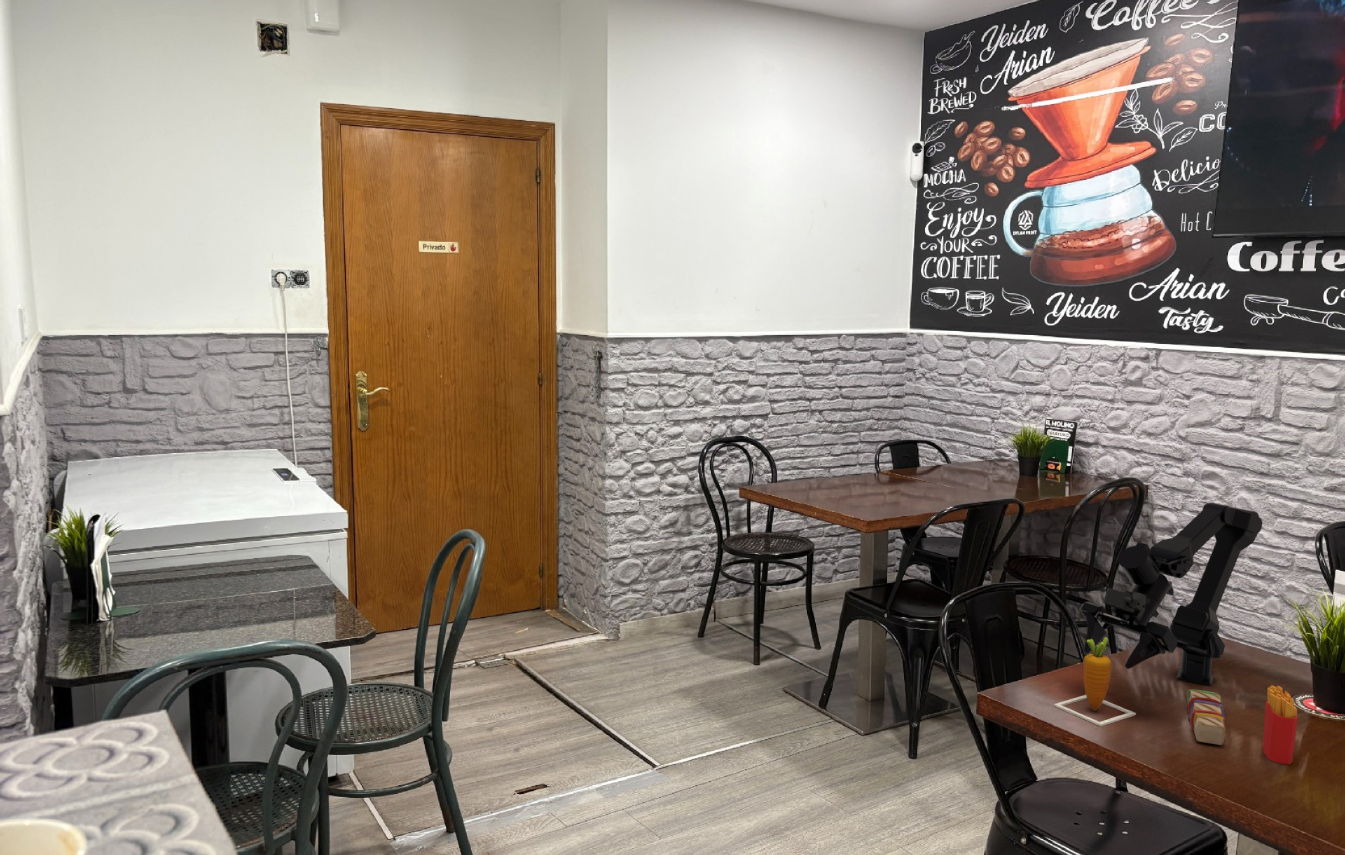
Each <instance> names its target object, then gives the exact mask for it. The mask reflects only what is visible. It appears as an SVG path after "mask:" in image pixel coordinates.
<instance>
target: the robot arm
mask: <svg viewBox="0 0 1345 855" xmlns="http://www.w3.org/2000/svg"><path fill="white" fill-rule="evenodd" d="M1262 528H1263V519H1262V517H1260V515H1259V514H1258V512H1257V511H1255V510H1250V509H1249V510H1248V509H1245V508H1239V507H1235V506H1230V505H1227V504H1220V503H1216V502H1208V503H1207V502H1206V503H1205V504H1204V506H1203V507H1202V510H1201V511H1200V512H1199V513H1198V514H1197V515H1196V516H1195V517H1194V518H1193V519H1192V520H1191V521H1190V522H1188V523H1187V525H1186V526H1184V527H1183V528H1182V529H1180V530H1179V532H1178V533H1177V534H1176V535H1175V536H1173V537H1170V538H1164V539H1162V540H1160V541H1158V542H1156V543H1155V544H1153V545H1152V546H1151V547H1150V546H1149V544H1148V543H1145V542H1141V541H1137V543H1136V544H1135V545H1131V546H1129V547H1127V548H1125V549H1123V550H1122V551H1120V552H1119V554H1118V556H1117V562H1118V565H1119V566H1120V568H1121V569H1122V570H1123V572H1124V573H1125V575H1126V576H1127V578H1128V579H1129V581H1130V582H1131V583H1132V584H1134V586H1132V589H1131V590H1129V591H1128V590H1125V591H1120V590H1118V589H1114V588H1112V587H1111V588H1110V587H1108V588H1107V590H1106V593H1105V595H1104V599H1103V601H1102V604H1105V605H1106V604H1107V605H1109V606H1111V607H1110V610H1111V611H1112V612H1113V613H1114V614H1115V615H1112V614H1110V613H1109V612H1108V611H1107V610H1106V608H1105V607H1104V606H1103V605H1101V604H1098V603H1095V602H1092V601H1089V600H1088V601H1085V602H1084V603H1082V604H1081V606H1080V607H1079V609H1078V612H1080V614H1081V615H1082V617H1083V618H1084V620H1085V622H1086V624H1087V625H1086V626H1087V630H1086V636H1085V641H1084V642H1085V643H1084V647H1083V648H1084V649H1083V652H1084V653H1085V654H1086V655H1089V654H1090V652H1092V650H1091V648H1090V646H1089V645H1088V643H1087V640H1090V639H1092V640H1093V641H1094V644H1095V647H1096V645H1099V643H1100V642H1101V640H1102V639H1104V636H1105V635H1106V634H1107V632H1106V630H1107V629H1109V628H1110V626H1112V627H1116V628H1119V629H1123V630H1125V631H1128V632H1131V633H1135V634H1138V635H1139V640H1138V643H1137V644H1136V645H1135V648H1134V649H1133V650H1132V651H1131V654H1130V655H1129V657H1128V658H1127V661H1126V662H1125V665H1124V667H1125V669H1127V670H1129V669H1131V668H1133V667H1136V666H1137V665H1139V664H1140V663H1143V662H1145V661H1146V660H1149V659H1150V658H1153V657H1155V656H1158V655H1160V654H1161V655H1165V654H1166V653H1170V654H1173V653H1174V652H1175V650H1176V648H1177V649H1178V648H1179V649H1181V660H1180V661H1181V662H1180V668H1179V670H1178V672H1177V675H1176V679H1177V680H1178V681H1180V680H1181V681H1185V682H1189V683H1194V684H1201V685H1206V686H1212V684H1213V680H1214V677H1215V676H1214V673H1212V666H1213V665H1212V662H1213V659H1220V658H1221V656H1223V655H1224V651H1225V647H1226V644H1225V643H1224V642H1223V640H1222V638H1221V637H1220V635H1219V634H1218V633H1219V631H1220V623H1219V618H1218V615H1217V611H1218V608H1219V606H1220V604H1221V601H1222V599H1223V596H1224V594H1225V591H1226V589H1227V586H1228V583H1229V582H1230V580H1231V579H1230V578H1231V576H1232V574H1233V571H1234V568H1235V566H1236V564H1237V561H1238V558H1239V556H1240V554H1241V552H1242V551H1243V550H1245V549H1246V548H1248V547H1250V545H1252V544H1253V543H1254V542H1255V540H1256V538H1257V536H1258V534H1259V533H1260V532H1261V531H1262ZM1213 537H1214V538H1215V544H1214V546H1213V549H1212V551H1211V553H1210V555H1209V558H1208V560H1207V563H1206V566H1205V568H1204V570H1203V573H1202V576H1201V578H1200V581H1199V583H1198V585H1197V588H1196V590H1195V592H1194V595H1193V597H1192V600H1191V602H1190V603H1188V604H1187V605H1182V604H1181V605H1179V606H1178V607H1177V609H1176V613H1175V615H1174V617H1173V619H1172V620H1171V623H1170V626H1168V625H1165V624H1162V623H1159V622H1155V621H1151V619H1152V618H1158V615H1159V611H1158V610H1157V609H1158V608H1159V607H1160V605H1161V603H1162V601H1164V598H1165V597H1166V596H1167V595H1170V596H1173V595H1174V591H1175V590H1174V588H1173V581H1171V580H1169V579H1168V577H1172V578H1177V579H1182V578H1183V577H1184V576H1186V575H1187V574H1188V572H1189V571H1190V570H1191V569H1192V568H1193V566H1194V564H1195V563H1194V557H1195V555H1196V553H1197V552H1198V551H1199V550H1200V549H1201V548H1202V547H1204V545H1205V544H1207V542H1209V541H1210V540H1211V539H1212V538H1213ZM1166 576H1168V577H1166ZM1169 627H1170V628H1169Z"/></svg>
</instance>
